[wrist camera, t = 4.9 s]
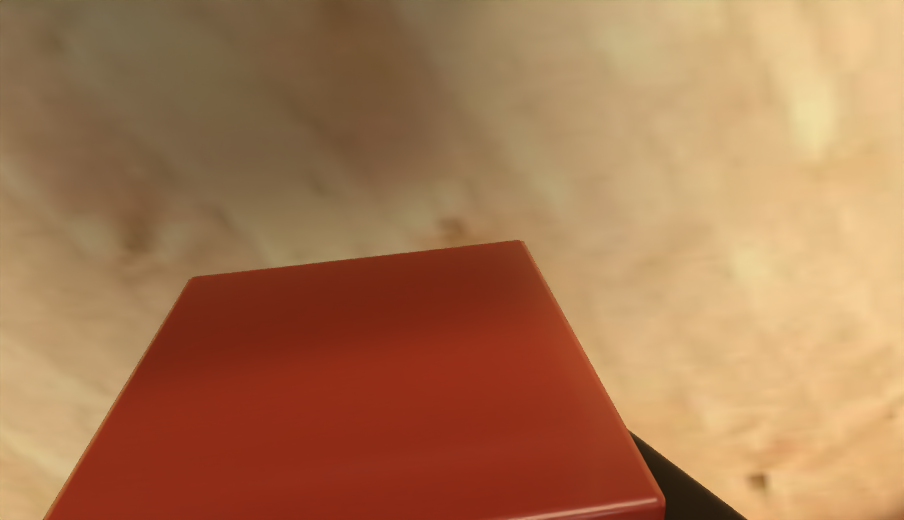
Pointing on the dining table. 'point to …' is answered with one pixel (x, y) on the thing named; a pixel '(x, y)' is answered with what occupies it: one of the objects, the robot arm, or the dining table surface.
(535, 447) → the block
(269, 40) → the dining table surface
